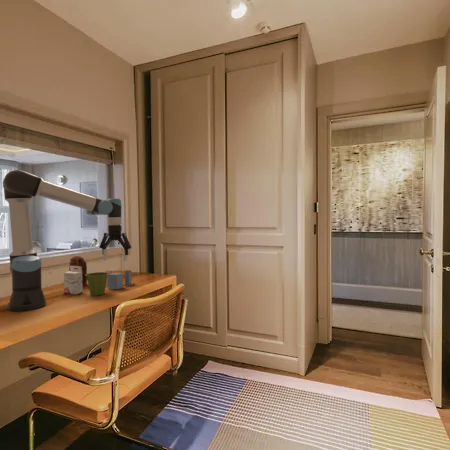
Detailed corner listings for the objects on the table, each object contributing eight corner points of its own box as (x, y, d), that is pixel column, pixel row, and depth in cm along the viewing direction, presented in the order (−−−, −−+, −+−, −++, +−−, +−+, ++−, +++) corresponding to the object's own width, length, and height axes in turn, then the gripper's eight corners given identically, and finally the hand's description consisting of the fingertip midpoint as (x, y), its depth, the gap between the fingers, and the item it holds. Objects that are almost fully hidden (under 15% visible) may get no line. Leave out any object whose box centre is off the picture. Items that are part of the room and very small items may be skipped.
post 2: (129, 286, 189) (129, 271, 188) (121, 285, 190) (121, 271, 190) (135, 284, 194) (134, 269, 194) (126, 283, 196) (126, 269, 196)
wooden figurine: (65, 286, 189) (65, 256, 188) (71, 283, 195) (71, 255, 195) (84, 286, 188) (83, 257, 188) (89, 284, 194) (89, 255, 194)
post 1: (110, 286, 188) (109, 271, 187) (101, 285, 189) (101, 271, 189) (116, 284, 193) (115, 270, 193) (107, 283, 195) (107, 269, 195)
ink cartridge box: (63, 293, 171) (63, 267, 170) (70, 291, 176) (70, 265, 175) (76, 294, 169) (76, 267, 168) (82, 292, 173) (82, 266, 173)
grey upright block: (116, 289, 180) (116, 274, 179) (108, 288, 181) (108, 274, 181) (122, 287, 185) (122, 273, 185) (114, 286, 187) (114, 272, 187)
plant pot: (109, 290, 177) (109, 271, 176) (108, 295, 165) (108, 275, 165) (86, 292, 173) (86, 272, 172) (84, 297, 162) (84, 276, 161)
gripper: (137, 224, 183) (137, 260, 183) (101, 224, 189) (101, 258, 190) (129, 225, 175) (130, 262, 176) (92, 224, 182) (93, 260, 183)
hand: (115, 260), depth 183 cm, fingers open, 13 cm apart
